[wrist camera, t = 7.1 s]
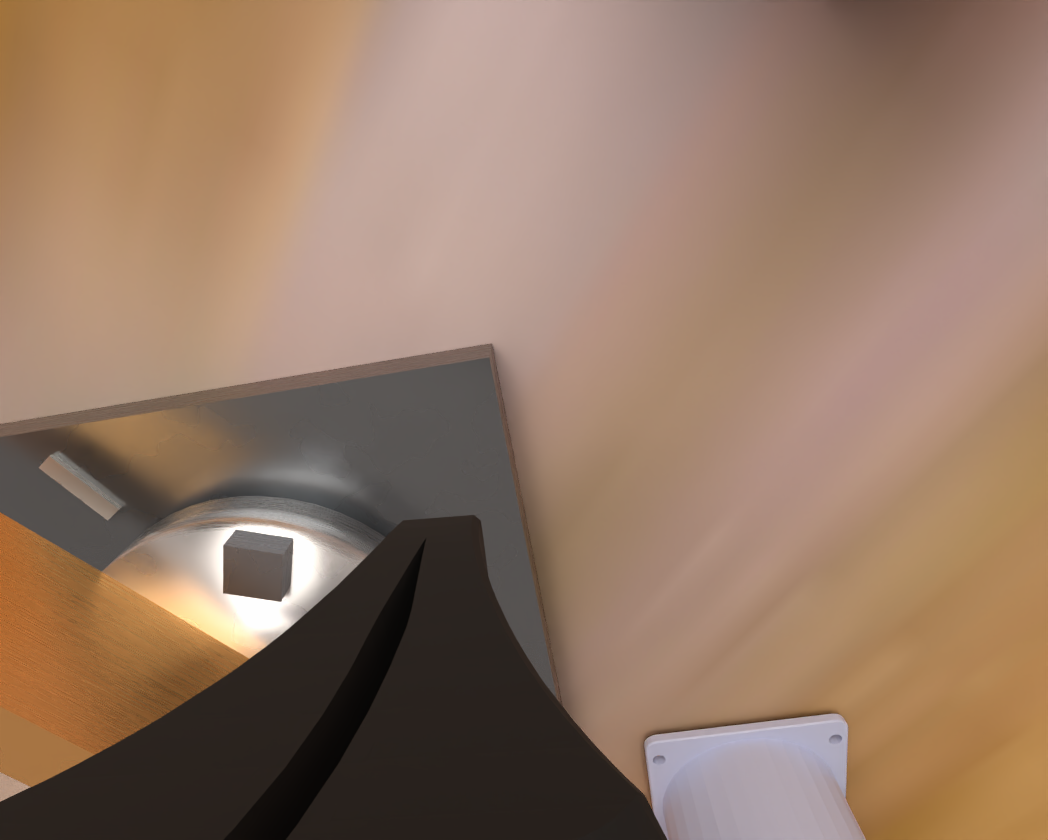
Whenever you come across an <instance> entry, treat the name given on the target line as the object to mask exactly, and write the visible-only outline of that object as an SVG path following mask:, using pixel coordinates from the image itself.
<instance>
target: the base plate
mask: <svg viewBox="0 0 1048 840" xmlns="http://www.w3.org/2000/svg"><path fill="white" fill-rule="evenodd" d="M237 496H269V497H279V498H288V499H294V500H298V501H303V502H307V503H312V504H316V505H319V506H322V507H325V508H328V509H331V510H334V511H337V512H340V513H342V514H344V515H346V516H349V517H351V518H353V519H355V520H357V521H359V522H362V523H363V524H365V525H367V526H368V527H370V528H372V529H373V530H375V531H377V532H378V533H380V534H382V535H383V536H385V537H386V536H387V535H388V534H389V533H390V532H391V531H392V530H393V529H394V528H395V527H396V526H397V525H398V524H400V523H401V522H402V521H403V520H414V519H427V518H440V517H453V516H466V515H475V516H476V517H477V518H478V519H480V520H481V525H482V532H483V539H484V547H485V554H486V562H487V569H488V576H489V580H490V583H491V586H492V588H493V591H494V593H495V596H496V598H497V600H498V603H499V605H500V607H501V609H502V611H503V614H504V616H505V618H506V620H507V622H508V624H509V626H510V628H511V630H512V631H513V633H514V635H515V637H516V639H517V641H518V642H519V644H520V646H521V647H522V649H523V651H524V652H525V654H526V656H527V657H528V659H529V660H530V662H531V664H532V665H533V667H534V668H535V670H536V671H537V673H538V674H539V676H540V677H541V679H542V680H543V682H544V683H545V684H546V686H547V687H548V688H549V689H550V691H551V692H552V693H553V695H554V696H555V697H556V699H557V700H558V701H559V703H560V704H561V705H562V701H561V696H560V691H559V686H558V681H557V676H556V670H555V665H554V660H553V655H552V650H551V645H550V640H549V634H548V629H547V624H546V619H545V614H544V609H543V604H542V599H541V593H540V588H539V583H538V578H537V573H536V568H535V563H534V557H533V552H532V547H531V542H530V537H529V532H528V527H527V522H526V516H525V511H524V506H523V501H522V496H521V491H520V486H519V480H518V475H517V470H516V465H515V460H514V455H513V450H512V444H511V439H510V434H509V429H508V424H507V419H506V414H505V409H504V403H503V398H502V393H501V388H500V383H499V378H498V373H497V367H496V362H495V357H494V352H493V347H492V344H486V345H480V346H474V347H468V348H462V349H456V350H450V351H444V352H438V353H432V354H425V355H419V356H413V357H407V358H401V359H395V360H389V361H383V362H377V363H371V364H365V365H359V366H353V367H346V368H340V369H334V370H328V371H322V372H316V373H310V374H304V375H298V376H292V377H286V378H280V379H274V380H267V381H261V382H255V383H249V384H243V385H237V386H231V387H225V388H219V389H213V390H207V391H201V392H195V393H188V394H182V395H176V396H170V397H164V398H158V399H152V400H146V401H140V402H134V403H128V404H122V405H115V406H109V407H103V408H97V409H91V410H85V411H79V412H73V413H67V414H61V415H55V416H49V417H43V418H36V419H30V420H24V421H18V422H12V423H6V424H0V512H1V513H2V514H4V515H6V516H7V517H9V518H11V519H12V520H14V521H16V522H18V523H19V524H21V525H23V526H24V527H26V528H28V529H29V530H31V531H33V532H35V533H36V534H38V535H40V536H41V537H43V538H45V539H46V540H48V541H50V542H52V543H53V544H55V545H57V546H58V547H60V548H62V549H63V550H65V551H67V552H69V553H70V554H72V555H74V556H75V557H77V558H79V559H80V560H82V561H84V562H86V563H87V564H89V565H91V566H92V567H94V568H96V569H98V570H99V571H101V572H102V571H103V570H104V569H105V568H106V567H107V566H108V565H109V564H110V563H111V562H112V561H113V560H114V559H115V558H117V557H118V556H119V555H120V554H121V553H122V552H123V551H124V550H125V549H126V548H127V547H128V546H129V545H130V544H131V543H132V542H133V541H134V540H135V539H136V538H138V537H139V536H140V535H141V534H142V533H144V532H145V531H146V530H147V529H148V528H150V527H151V526H152V525H153V524H155V523H157V522H158V521H160V520H162V519H164V518H165V517H167V516H169V515H170V514H172V513H175V512H177V511H180V510H182V509H184V508H187V507H189V506H192V505H195V504H199V503H203V502H207V501H211V500H215V499H222V498H230V497H237Z"/></svg>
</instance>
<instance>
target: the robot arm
mask: <svg viewBox="0 0 1048 840" xmlns="http://www.w3.org/2000/svg"><path fill="white" fill-rule="evenodd" d="M847 747H848V725H847V723H846V721H845V719H844V718H843V717H842V716H841V715H839V714H824V715H816V716H807V717H799V718H791V719H782V720H774V721H766V722H757V723H749V724H740V725H732V726H724V727H715V728H707V729H698V730H690V731H682V732H673V733H665V734H657V735H652V736H650V737H648V738H647V739H646V740H645V742H644V748H645V756H646V763H647V771H648V778H649V786H650V793H651V801H652V808H653V811H652V809H651V807H650V805H649V803H648V801H647V799H646V797H645V795H644V794H643V793H642V792H641V791H640V790H639V789H638V788H637V787H636V786H635V785H634V784H633V783H631V782H630V781H629V780H628V779H627V778H626V777H625V776H624V775H623V774H622V773H621V772H620V771H619V770H618V769H617V768H616V767H615V766H614V765H613V764H612V763H611V762H610V761H609V760H608V759H607V757H606V756H605V755H604V754H603V753H602V752H601V751H600V750H599V749H598V748H597V747H596V746H595V745H594V744H593V742H592V741H591V740H590V739H589V738H588V737H587V736H586V734H585V733H584V732H583V731H582V730H581V729H580V728H579V726H578V725H577V724H576V723H575V722H574V721H573V720H572V718H571V717H570V716H569V714H568V713H567V712H566V710H565V709H564V708H563V706H562V705H561V704H560V703H559V701H558V700H557V699H556V697H555V696H554V695H553V693H552V692H551V691H550V689H549V688H548V687H547V686H546V684H545V683H544V682H543V680H542V679H541V677H540V676H539V674H538V673H537V671H536V670H535V668H534V667H533V665H532V664H531V662H530V660H529V659H528V657H527V656H526V654H525V652H524V651H523V649H522V647H521V646H520V644H519V642H518V641H517V639H516V637H515V635H514V633H513V631H512V630H511V628H510V626H509V624H508V622H507V620H506V618H505V616H504V614H503V611H502V609H501V607H500V605H499V603H498V600H497V598H496V596H495V593H494V591H493V588H492V586H491V583H490V580H489V576H488V569H487V562H486V554H485V547H484V539H483V532H482V525H481V520H480V519H478V518H477V517H476V516H475V515H466V516H453V517H440V518H427V519H414V520H403V521H402V522H401V523H400V524H398V525H397V526H396V527H395V528H394V529H393V530H392V531H391V532H390V533H389V534H388V535H387V536H386V537H385V538H384V539H383V540H382V541H381V542H380V543H379V545H378V546H377V547H376V548H375V549H374V550H373V551H372V552H371V553H370V554H369V555H368V556H367V557H366V558H365V559H364V560H363V561H362V562H361V563H360V564H359V565H358V566H357V567H356V568H355V569H354V570H353V571H352V572H351V573H350V574H349V575H347V576H346V577H345V578H344V579H343V580H342V581H341V582H340V583H339V584H338V585H337V586H336V587H335V588H334V589H333V590H332V591H331V592H329V593H328V594H327V595H326V596H325V597H324V598H323V599H322V600H320V601H319V602H318V603H317V604H316V605H315V606H314V607H313V608H311V609H310V610H309V611H308V612H307V613H306V614H305V615H304V616H302V617H301V618H300V619H299V620H298V621H297V622H296V623H295V624H293V625H292V626H291V627H290V628H289V629H287V630H286V631H285V632H284V633H283V634H281V635H280V636H279V637H277V638H276V639H275V640H274V641H272V642H271V643H270V644H269V645H267V646H266V647H265V648H263V649H262V650H261V651H259V652H258V653H257V654H255V655H254V656H252V657H251V658H250V659H248V660H247V661H246V662H244V663H243V664H242V665H240V666H239V667H238V668H236V669H235V670H233V671H232V672H230V673H229V674H228V675H226V676H225V677H223V678H222V679H220V680H219V681H217V682H215V683H214V684H212V685H211V686H209V687H208V688H206V689H205V690H203V691H201V692H200V693H198V694H197V695H195V696H194V697H192V698H191V699H189V700H187V701H186V702H184V703H183V704H181V705H180V706H178V707H176V708H175V709H173V710H172V711H170V712H169V713H167V714H166V715H164V716H162V717H161V718H159V719H157V720H156V721H154V722H152V723H151V724H149V725H147V726H145V727H144V728H142V729H140V730H138V731H137V732H135V733H133V734H131V735H130V736H128V737H126V738H124V739H123V740H121V741H119V742H117V743H116V744H114V745H112V746H110V747H108V748H106V749H104V750H103V751H101V752H99V753H97V754H95V755H93V756H91V757H90V758H88V759H86V760H84V761H82V762H80V763H78V764H77V765H75V766H73V767H71V768H69V769H67V770H65V771H63V772H61V773H59V774H57V775H55V776H53V777H51V778H49V779H47V780H45V781H43V782H41V783H39V784H37V785H35V786H33V787H31V788H28V789H26V790H24V791H22V792H20V793H18V794H16V795H14V796H12V797H9V798H7V799H5V800H3V801H1V802H0V840H866V839H865V837H864V835H863V833H862V831H861V829H860V827H859V825H858V823H857V821H856V819H855V817H854V815H853V813H852V811H851V809H850V807H849V805H848V803H847V801H846V776H847ZM658 755H660V756H658Z"/></svg>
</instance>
